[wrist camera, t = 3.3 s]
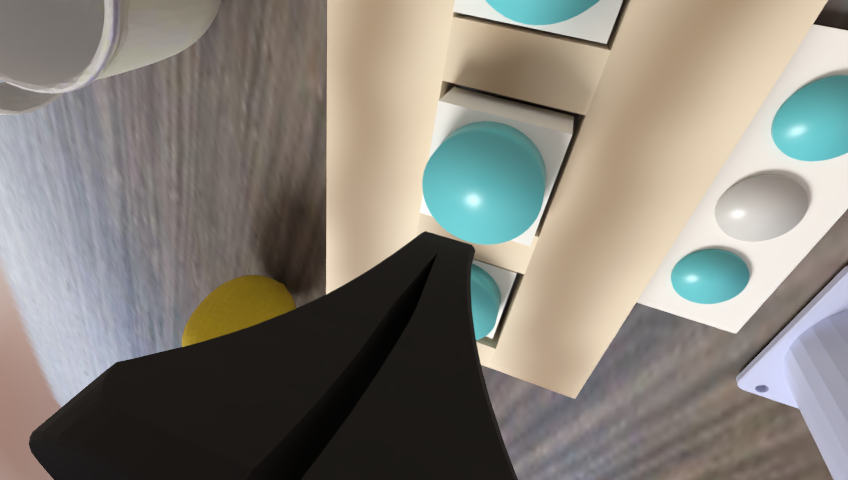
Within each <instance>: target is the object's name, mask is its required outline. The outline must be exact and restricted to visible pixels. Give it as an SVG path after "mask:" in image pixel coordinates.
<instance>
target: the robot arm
mask: <svg viewBox="0 0 848 480" xmlns="http://www.w3.org/2000/svg"><path fill="white" fill-rule="evenodd" d="M474 254H475V249H474V247H473V245H471V244H467V243H464V242H461V241H457V240H454V239H450V238H447V237H444V236H440V235H437V234H433V233H430V232H427V231H425V232H423V233H421V234H419V235H418V236H417V237H415V238H414V239H413V240H411V241H410V242H409V243H407V244H406V245H405V246H403V247H402V248H401V249H399V250H398V251H396V252H395V253H394V254H392V255H391V256H389V257H388V258H386V259H385V260H383V261H382V262H380V263H379V264H377V265H376V266H374V267H373V268H371V269H370V270H368V271H367V272H365V273H363V274H362V275H360V276H358V277H356V278H355V279H353V280H351V281H350V282H348V283H346V284H344V285H343V286H341V287H339V288H337V289H336V290H334V291H332V292H330V293H328V294H326V295H324V296H322V297H320V298H318V299H316V300H314V301H312V302H310V303H307V304H305V305H303V306H301V307H299V308H297V309H294V310H292V311H289V312H287V313H284V314H282V315H279V316H277V317H274V318H272V319H269V320H266V321H264V322H261V323H259V324H256V325H253V326H250V327H248V328H245V329H241V330H238V331H235V332H232V333H229V334H226V335H223V336H219V337H216V338H213V339H209V340H206V341H203V342H199V343H195V344H192V345H188V346H184V347H180V348H176V349H172V350H168V351H164V352H159V353H155V354H151V355H147V356H143V357H139V358H134V359H130V360H125V361H121V362H116V363H115V364H114V365H113V366H111V367H110V368H109V369H107V370H106V371H105V372H104V373H102V374H101V375H100V376H99V377H98V378H96V379H95V380H94V381H93V382H92V383H90V384H89V385H88V386H87V387H86V388H84V389H83V390H82V391H81V392H80V393H78V394H77V395H76V396H75V397H74V398H72V399H71V400H70V401H69V402H68V403H67V404H65V405H64V406H63V407H62V408H61V409H59V410H58V411H57V412H56V413H55V414H53V415H52V416H51V417H50V418H49V419H48V420H46V421H45V422H44V423H43V424H42V425H41V426H39V427H38V428H37V429H36V430H35V431H34V432H33V433H32V434H31V436H30V441H29V445H30V449H31V452H32V453H33V455H34V456H35V458H36V459H37V460H38V461H39V463H40V464H41V465H42V466H43V467H44V469H45V470H46V471H47V472H48V473H49V474H50V475H51V477H52V478H53V479H54V480H518V479H517V476H516V474H515V471H514V469H513V466H512V463H511V461H510V458H509V455H508V453H507V450H506V447H505V445H504V442H503V439H502V436H501V433H500V430H499V427H498V423H497V420H496V417H495V414H494V411H493V408H492V405H491V402H490V399H489V395H488V391H487V388H486V384H485V380H484V376H483V372H482V368H481V363H480V359H479V354H478V349H477V343H476V337H475V330H474V323H473V315H472V303H471V266H472V262H473V258H474ZM736 381H737V384H738V386H739V387H740V388H741V389H743V390H745V391H748V392H751V393H754V394H757V395H760V396H763V397H766V398H769V399H772V400H775V401H778V402H781V403H784V404H787V405H789V406H792V407H795V408H798V409H800V411H801V413H802V415H803V417H804V419H805V422H806V424H807V426H808V428H809V430H810V432H811V434H812V436H813V438H814V440H815V442H816V444H817V446H818V448H819V450H820V453H821V455H822V457H823V459H824V461H825V463H826V465H827V467H828V469H829V471H830V473H831V475H832V477H833V479H834V480H848V265H847V266H846V267H844V268H843V269H842V270H841V271H840V272H839V273H838V274H837V275H836V276H835V277H834V278H833V279H832V280H831V281H830V282H829V284H828V285H827V286H826V287H825V288H824V289H823V290H822V291H821V292H820V293H819V294H818V295H817V296H816V297H815V298H814V299H813V300H812V301H811V302H810V303H809V304H808V305H807V306H806V307H805V308H804V309H803V310H802V311H801V312H800V313H799V314H798V315H797V316H796V317H795V318H794V319H793V320H792V321H791V322H790V323H789V324H788V325H787V326H786V327H785V328H784V329H783V330H782V331H781V332H780V333H779V334H778V335H777V336H776V337H775V338H774V339H773V340H772V341H771V342H770V343H769V344H768V345H767V346H766V347H765V348H764V349H763V350H762V351H761V352H760V353H759V354H758V355H757V356H756V357H755V358H754V359H753V360H752V361H751V362H750V363H749V364H748V365H747V367H746V368H745V369H744V370H743V371H742V372H741V373H740V374H739V375H738V376H737V377H736ZM758 385H762V386H758Z"/></svg>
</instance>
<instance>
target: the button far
mask: <svg viewBox="0 0 848 480" xmlns="http://www.w3.org/2000/svg"><path fill="white" fill-rule="evenodd" d="M516 274H517V272H515V271H512V270H509V269H506V268H503V267H500V266H496V265H493V264H490V263H487V262H484V261H481V260H478V259H474V258H473V262H472V266H471V303H472V315H473V323H474V330H475V337H476V340H479V339H481V338H483V337H485V336H486V337H489V338H491V339H493V336H494V333H495V331H496V328H497V325H498V323H499V320H500V317H501V315H502V312H503V309H504V306H505V304H506V301H507V298H508V296H509V293H510V290H511V288H512V285H513V282H514V279H515V277H516Z"/></svg>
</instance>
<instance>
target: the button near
mask: <svg viewBox="0 0 848 480" xmlns="http://www.w3.org/2000/svg"><path fill="white" fill-rule="evenodd" d="M622 2H623V0H455V2H454V8H453V12H457V13H462V14H467V15H472V16H476V17H481V18H486V19H491V20H495V21H500V22H505V23H510V24H514V25H519V26H524V27H529V28H533V29H538V30H543V31H547V32H552V33H557V34H562V35H566V36H571V37H576V38H581V39H585V40H590V41H595V42H600V43H604V44H607V42H608V39H609V36H610V34H611V31H612V28H613V26H614V23H615V20H616V18H617V15H618V12H619V10H620V7H621V4H622Z"/></svg>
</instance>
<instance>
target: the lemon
mask: <svg viewBox="0 0 848 480" xmlns="http://www.w3.org/2000/svg"><path fill="white" fill-rule="evenodd" d="M294 309H296V306H295V303H294V300H293V298H292V296H291V294H290V293H289V291H288V290H287V289H286V286H285V285H284V284H283V283H279V282H277V281H276V280H274V279H271V278H269V277H265V276H260V275H247V276H242V277H238V278H236V279H233V280H230V281H228V282H226V283H224V284H222V285H221V286H219V287H218V288H216V289H215V290H214V291H213V292H211V293H210V294H209V295H208V296H207V297H206V298H205V299H204V300H203V301H202V302H201V304H200V305H199V306H198V307H197V308H196V310H195V311H194V312H193V314H192V315H191V317H190V318H189V320H188V322H187V324H186V326H185V329H184V333H183V337H182V347H184V346H188V345H192V344H195V343H199V342H203V341H206V340H209V339H213V338H216V337H219V336H223V335H226V334H229V333H232V332H235V331H238V330H241V329H245V328H248V327H250V326H253V325H256V324H259V323H261V322H264V321H266V320H269V319H272V318H274V317H277V316H279V315H282V314H284V313H287V312H289V311H292V310H294Z"/></svg>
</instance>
